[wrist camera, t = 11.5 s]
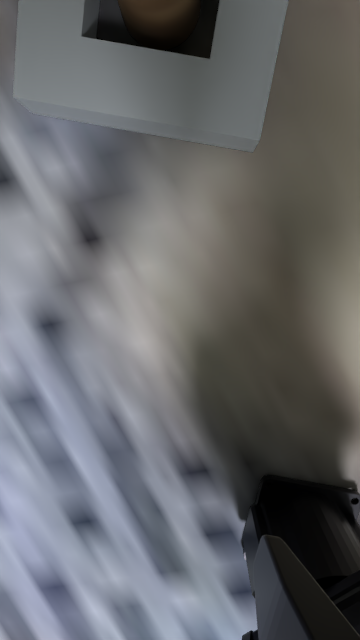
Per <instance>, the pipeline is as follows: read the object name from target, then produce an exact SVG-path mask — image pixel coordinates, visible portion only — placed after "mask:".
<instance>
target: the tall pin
mask: <svg viewBox="0 0 360 640" xmlns="http://www.w3.org/2000/svg"><path fill="white" fill-rule="evenodd" d="M118 4H119V7H120V10H121V14H122V17H123V20H124V23H125V25H126V27H127V29H128V31H129V33H130V34H131V35H132V37H133V38H134V39H135V40H136V41H137V42H139V43H140V44H141V45H143V46H145V47H147V48H150V49H156V50H168V49H171V48H174V47H176V46H178V45H180V44H181V43H182V42H184V41H185V40H186V39H187V38H188V37H189V36H190V34H191V33H192V32H193V30H194V28H195V26H196V24H197V22H198V19H199V15H200V9H201V0H118Z"/></svg>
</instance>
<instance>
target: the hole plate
mask: <svg viewBox="0 0 360 640" xmlns="http://www.w3.org/2000/svg"><path fill="white" fill-rule="evenodd" d="M288 1H289V0H220V2H219V7H218V13H217V19H216V25H215V31H214V37H213V43H212V49H211V55H210V59H207V58H201V57H195V56H190V55H184V54H178V53H173V52H167V51H161V50H156V49H150V48H144V47H139V46H133V45H127V44H121V43H116V42H110V41H104V40H99V39H96V35H97V26H98V16H99V6H100V0H18V17H17V34H16V50H15V67H14V84H13V98H14V99H16V100H17V101H18V102H19V103H20V104H22V105H23V106H24V107H25V108H26V109H27V110H29V111H30V112H31V113H32V114H37V115H43V116H49V117H54V118H60V119H66V120H71V121H77V122H83V123H88V124H94V125H100V126H105V127H111V128H117V129H122V130H128V131H134V132H139V133H145V134H151V135H156V136H162V137H167V138H173V139H179V140H184V141H190V142H196V143H201V144H207V145H213V146H218V147H224V148H230V149H235V150H241V151H247V152H252V153H253V151H254V149H255V148H256V146H257V144H258V143H259V141H260V137H261V132H262V127H263V123H264V118H265V113H266V108H267V103H268V98H269V93H270V88H271V84H272V79H273V74H274V69H275V64H276V59H277V54H278V49H279V45H280V40H281V35H282V30H283V25H284V20H285V15H286V11H287V6H288Z"/></svg>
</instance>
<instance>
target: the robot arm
mask: <svg viewBox="0 0 360 640" xmlns="http://www.w3.org/2000/svg"><path fill="white" fill-rule="evenodd" d="M267 483H272V484H271V485H266V484H267ZM353 498H355V499H354V500H352V499H353ZM359 512H360V494H359V493H358V492H357V491H355V490H351V489H345V488H339V487H334V486H328V485H323V484H317V483H311V482H306V481H300V480H295V479H289V478H284V477H278V476H272V475H266V476H264V477H263V478H262V479H261V482H260V486H259V490H258V494H257V498H256V502H255V504H253V505H252V506H251V507H250V509H249V513H248V517H247V521H246V525H245V529H244V533H243V543H244V549H243V554H244V558H245V560H246V561H247V567H248V573H249V579H250V584H251V590H252V595H253V596H254V598H255V602H256V614H257V626H258V630H256V631H254V632H253V631H252V630H251V631H249V632H248V633H246V634H244V635H243V636H242V640H360V526H359V524H358V523H357V518H358V515H359Z"/></svg>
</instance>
